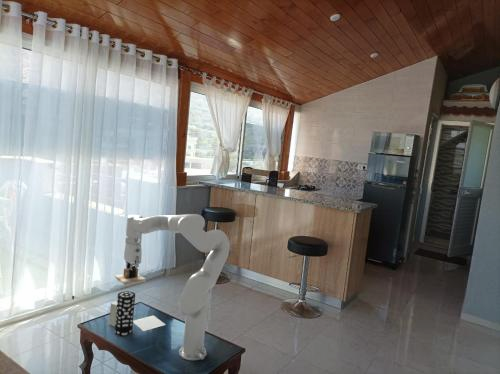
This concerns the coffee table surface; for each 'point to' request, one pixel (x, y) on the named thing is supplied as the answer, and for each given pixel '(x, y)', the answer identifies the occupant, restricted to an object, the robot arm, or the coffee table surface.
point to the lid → (126, 280)
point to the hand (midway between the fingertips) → (130, 275)
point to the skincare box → (113, 313)
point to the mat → (148, 323)
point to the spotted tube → (124, 313)
